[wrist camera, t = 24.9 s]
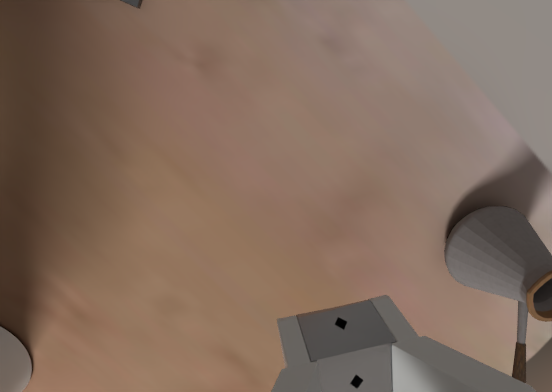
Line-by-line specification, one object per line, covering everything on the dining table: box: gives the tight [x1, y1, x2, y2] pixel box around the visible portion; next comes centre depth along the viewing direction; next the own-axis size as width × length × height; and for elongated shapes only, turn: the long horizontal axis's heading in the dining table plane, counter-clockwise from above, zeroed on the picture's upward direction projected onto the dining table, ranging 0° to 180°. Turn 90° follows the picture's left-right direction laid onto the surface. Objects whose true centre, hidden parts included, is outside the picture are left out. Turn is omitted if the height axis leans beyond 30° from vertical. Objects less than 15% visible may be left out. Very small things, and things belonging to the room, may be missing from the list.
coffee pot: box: [444, 206, 552, 383], centre depth 42 cm, size 21×12×15 cm, turn 170°
